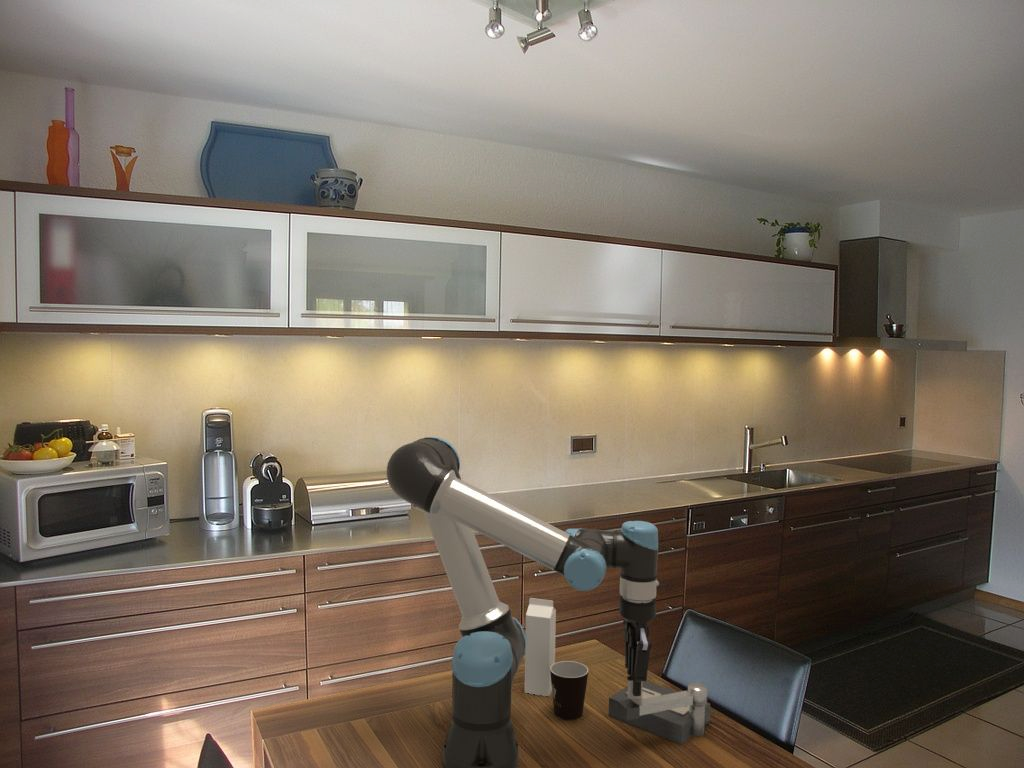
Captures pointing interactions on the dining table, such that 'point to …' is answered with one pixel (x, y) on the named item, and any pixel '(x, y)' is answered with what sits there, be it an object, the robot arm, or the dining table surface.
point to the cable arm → (663, 702)
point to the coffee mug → (568, 688)
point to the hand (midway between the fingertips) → (634, 708)
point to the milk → (539, 646)
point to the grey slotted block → (665, 715)
